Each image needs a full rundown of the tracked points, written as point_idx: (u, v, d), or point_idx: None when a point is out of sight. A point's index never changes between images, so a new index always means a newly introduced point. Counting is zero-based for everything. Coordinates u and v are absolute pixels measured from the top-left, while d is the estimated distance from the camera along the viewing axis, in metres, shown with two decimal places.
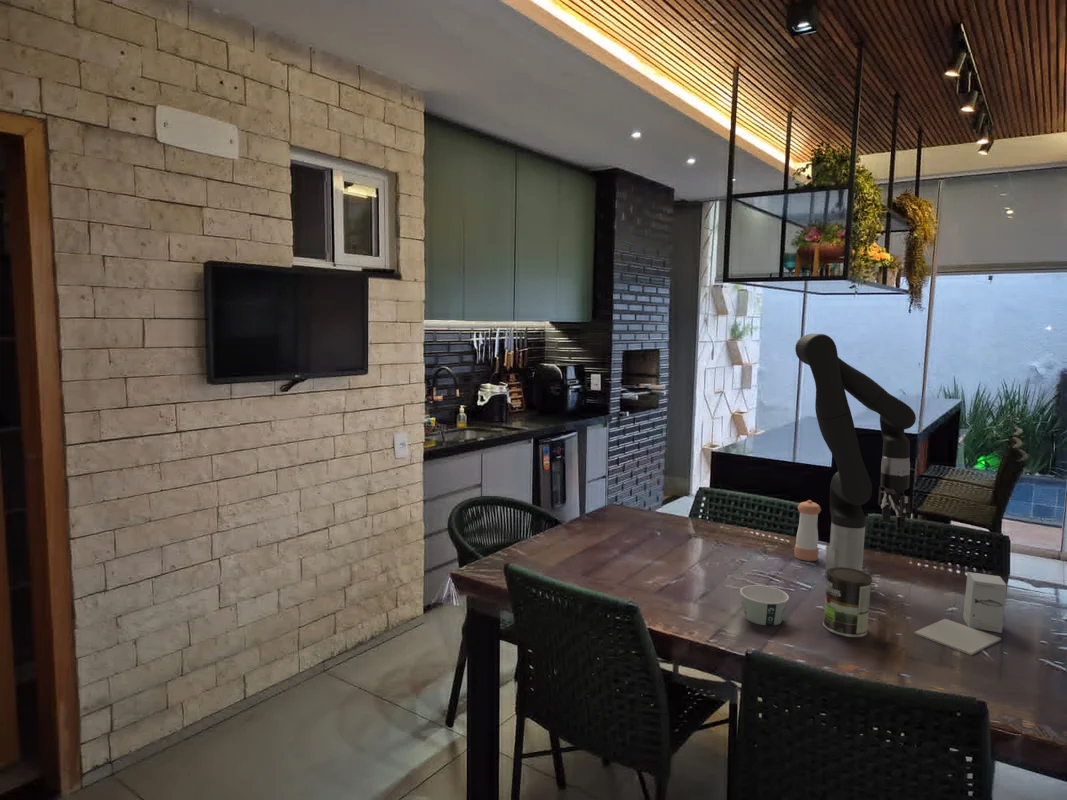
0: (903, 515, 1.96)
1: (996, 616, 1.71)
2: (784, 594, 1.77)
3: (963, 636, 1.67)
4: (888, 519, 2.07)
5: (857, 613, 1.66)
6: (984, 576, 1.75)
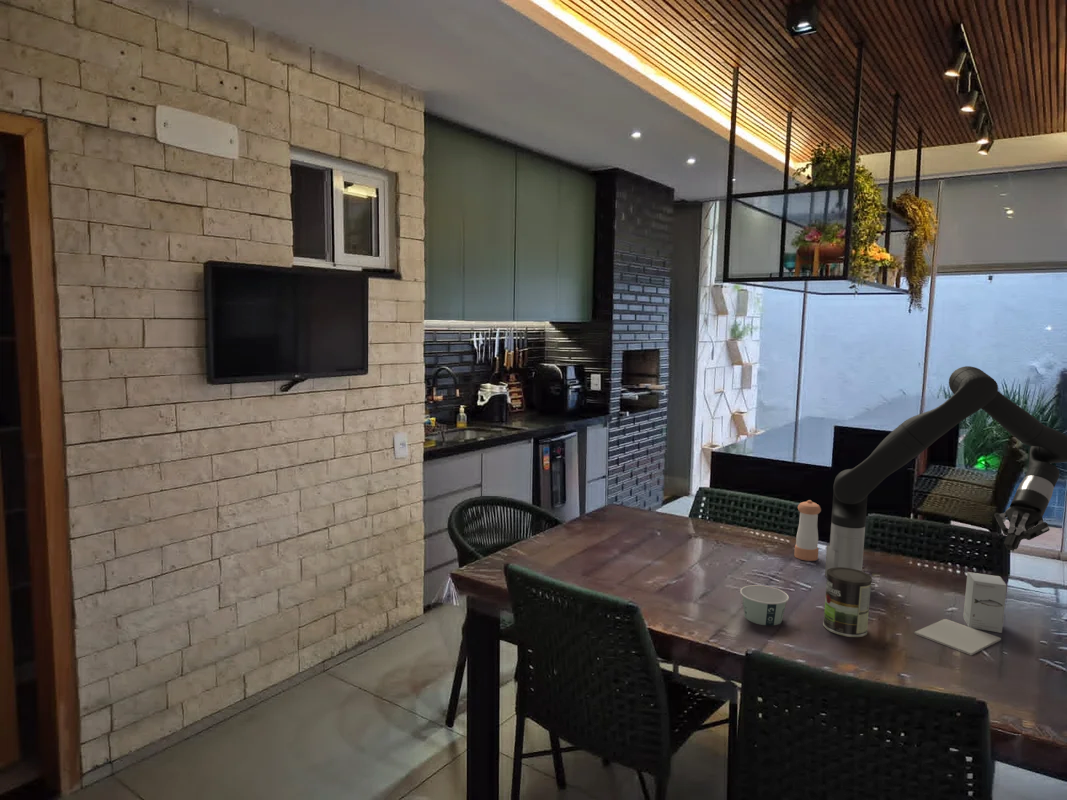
0: None
1: (996, 616, 1.71)
2: (784, 594, 1.77)
3: (963, 636, 1.67)
4: None
5: (857, 613, 1.66)
6: (984, 576, 1.75)
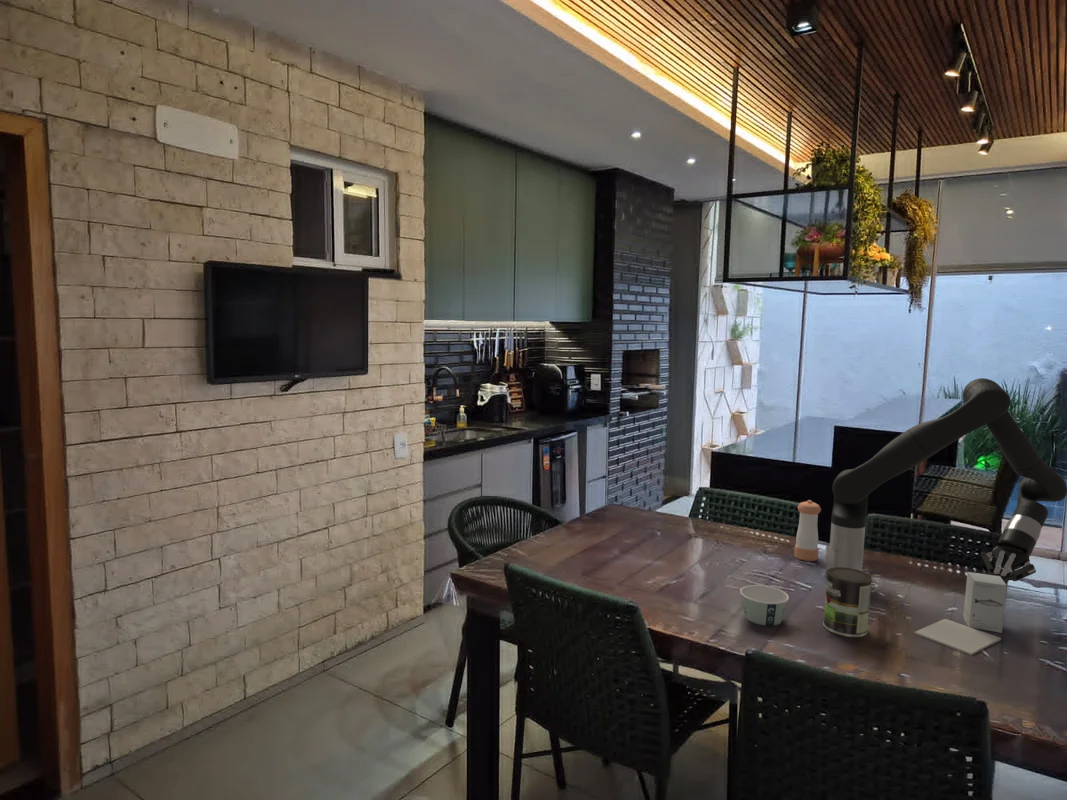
0: None
1: (996, 616, 1.71)
2: (784, 594, 1.77)
3: (963, 636, 1.67)
4: None
5: (857, 613, 1.66)
6: (984, 576, 1.75)
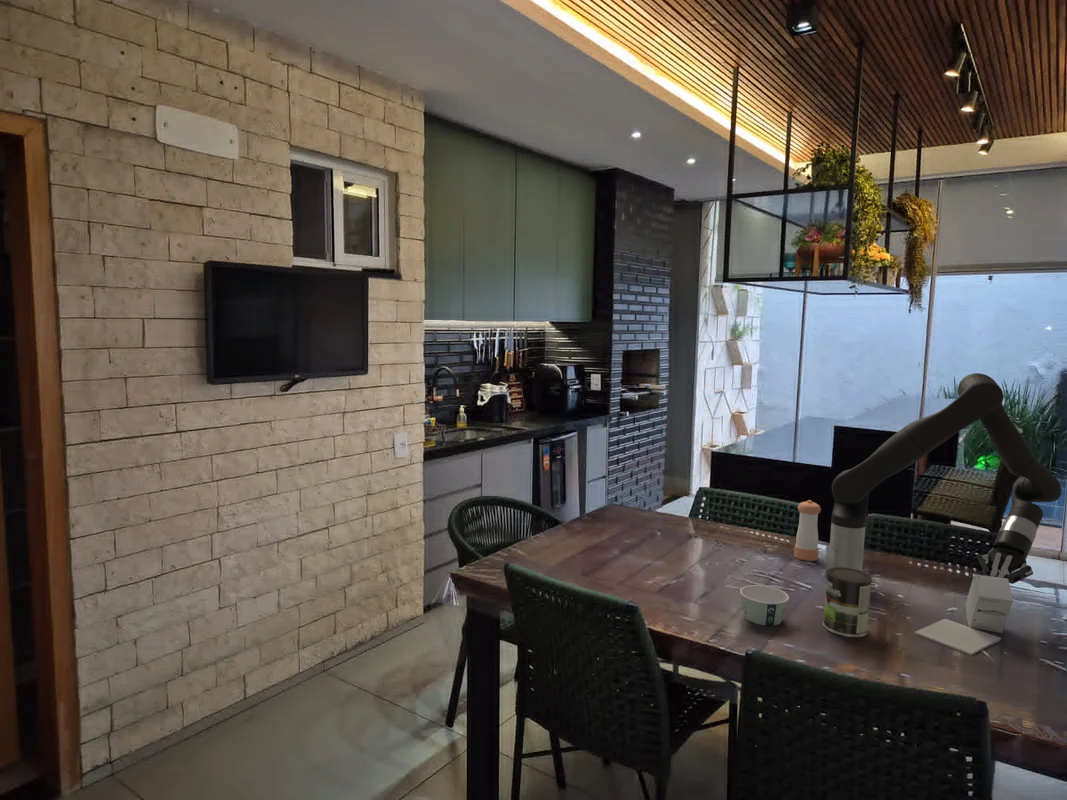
0: None
1: (997, 622, 1.69)
2: (784, 594, 1.77)
3: (963, 636, 1.67)
4: None
5: (857, 613, 1.66)
6: (991, 583, 1.68)
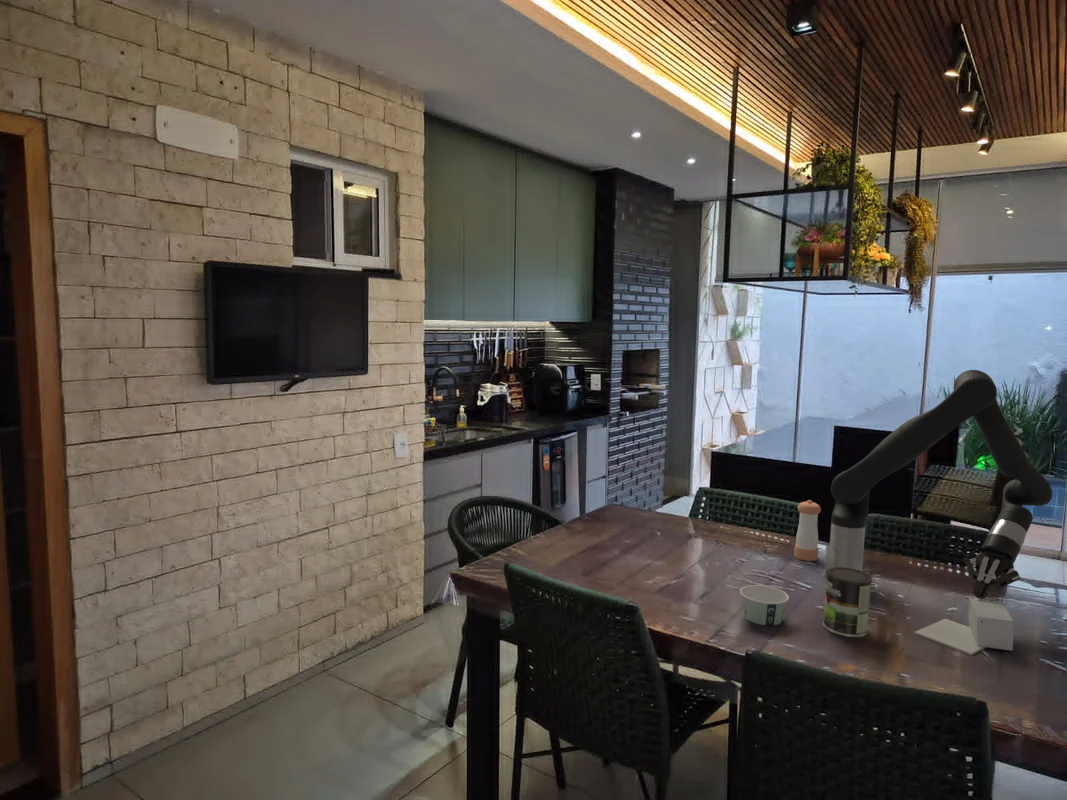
0: None
1: None
2: (784, 594, 1.77)
3: (963, 636, 1.67)
4: None
5: (857, 613, 1.66)
6: (993, 629, 1.61)
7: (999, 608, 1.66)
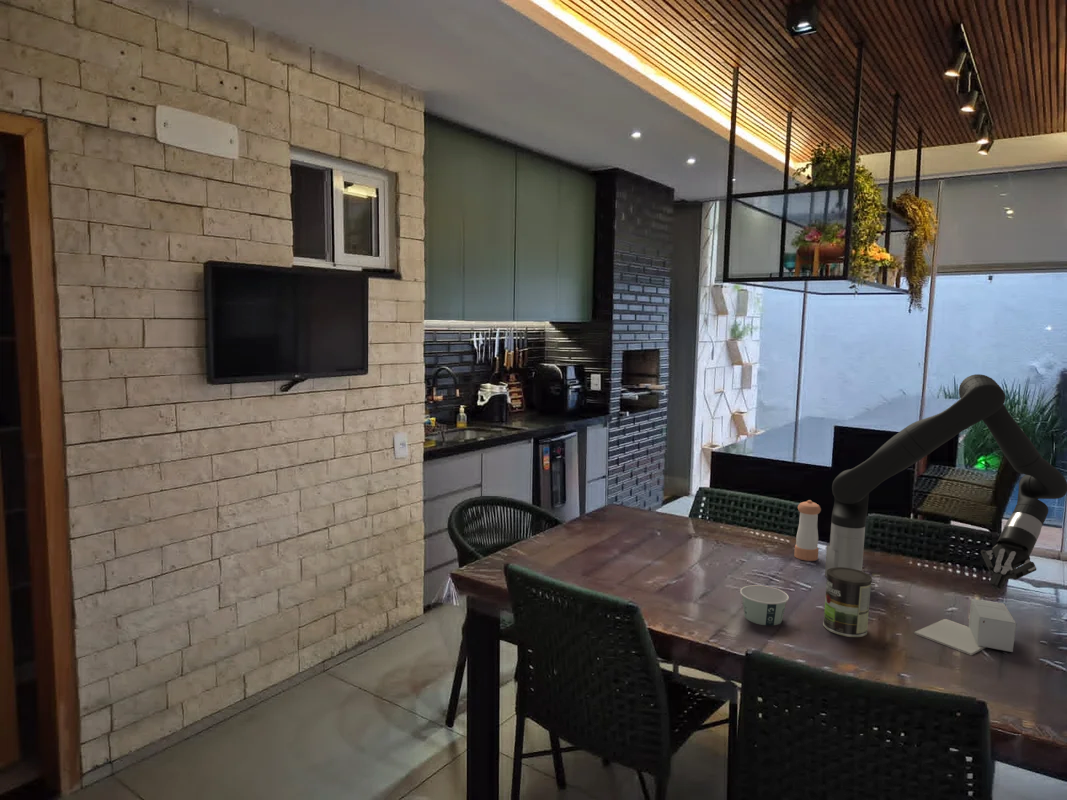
0: None
1: None
2: (784, 594, 1.77)
3: (963, 636, 1.67)
4: None
5: (857, 613, 1.66)
6: (995, 630, 1.60)
7: (1001, 609, 1.66)
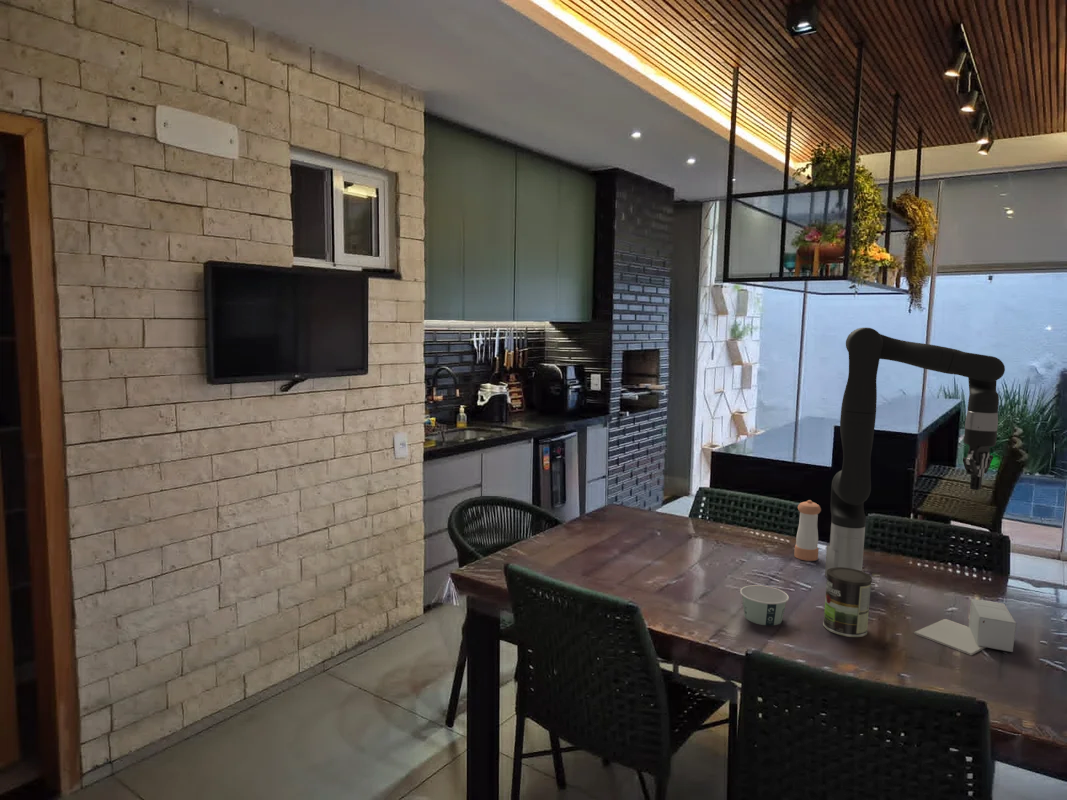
0: None
1: None
2: (784, 594, 1.77)
3: (963, 636, 1.67)
4: None
5: (857, 613, 1.66)
6: (995, 630, 1.60)
7: (1001, 609, 1.66)
